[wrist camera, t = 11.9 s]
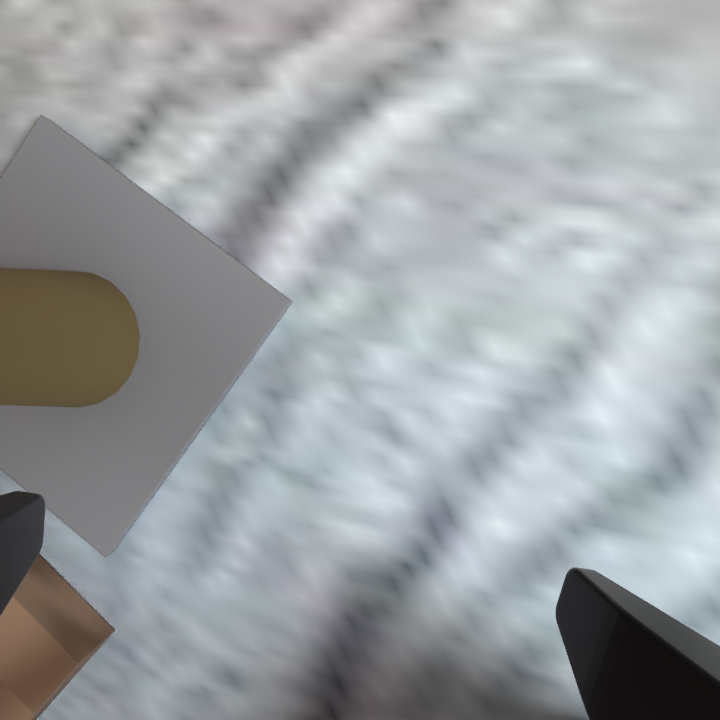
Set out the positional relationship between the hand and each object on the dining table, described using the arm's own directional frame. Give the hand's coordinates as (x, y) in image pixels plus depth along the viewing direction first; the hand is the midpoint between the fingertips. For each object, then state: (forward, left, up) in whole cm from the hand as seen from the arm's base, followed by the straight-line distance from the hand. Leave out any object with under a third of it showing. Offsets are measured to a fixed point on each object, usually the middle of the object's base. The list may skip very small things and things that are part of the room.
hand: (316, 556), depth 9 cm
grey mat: (+13, +6, -13) cm, 19 cm away
